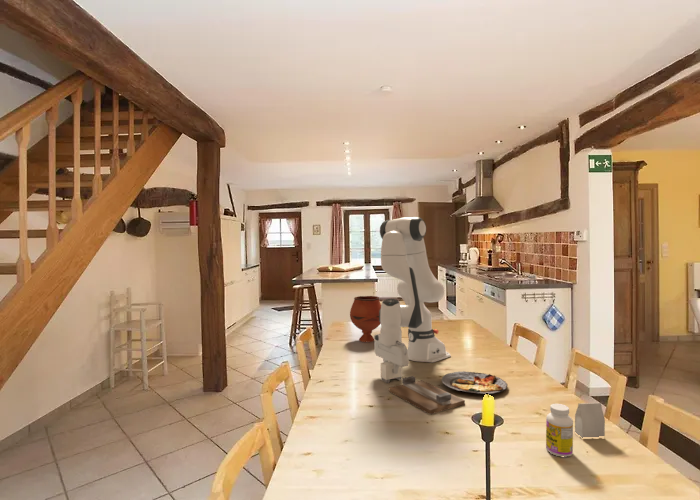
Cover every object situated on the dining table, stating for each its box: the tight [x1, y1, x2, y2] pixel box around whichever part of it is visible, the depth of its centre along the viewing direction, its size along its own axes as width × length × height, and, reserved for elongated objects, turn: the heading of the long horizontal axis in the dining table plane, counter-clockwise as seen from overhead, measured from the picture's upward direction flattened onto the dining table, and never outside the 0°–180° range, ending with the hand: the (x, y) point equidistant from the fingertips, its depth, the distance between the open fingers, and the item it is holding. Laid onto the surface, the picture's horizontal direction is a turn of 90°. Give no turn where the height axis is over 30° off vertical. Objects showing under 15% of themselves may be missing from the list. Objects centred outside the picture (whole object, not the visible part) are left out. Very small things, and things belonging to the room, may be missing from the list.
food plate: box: [441, 370, 508, 395], centre depth 166 cm, size 25×23×4 cm
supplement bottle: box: [545, 403, 574, 458], centre depth 115 cm, size 7×7×13 cm
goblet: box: [349, 295, 382, 343], centre depth 238 cm, size 19×19×25 cm
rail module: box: [380, 361, 403, 384], centre depth 174 cm, size 8×4×7 cm, turn 119°
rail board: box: [388, 375, 466, 415], centre depth 155 cm, size 16×24×4 cm, turn 29°
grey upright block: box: [574, 402, 606, 438], centre depth 124 cm, size 4×7×10 cm, turn 92°
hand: (391, 371), depth 174 cm, fingers closed on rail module, 4 cm apart
